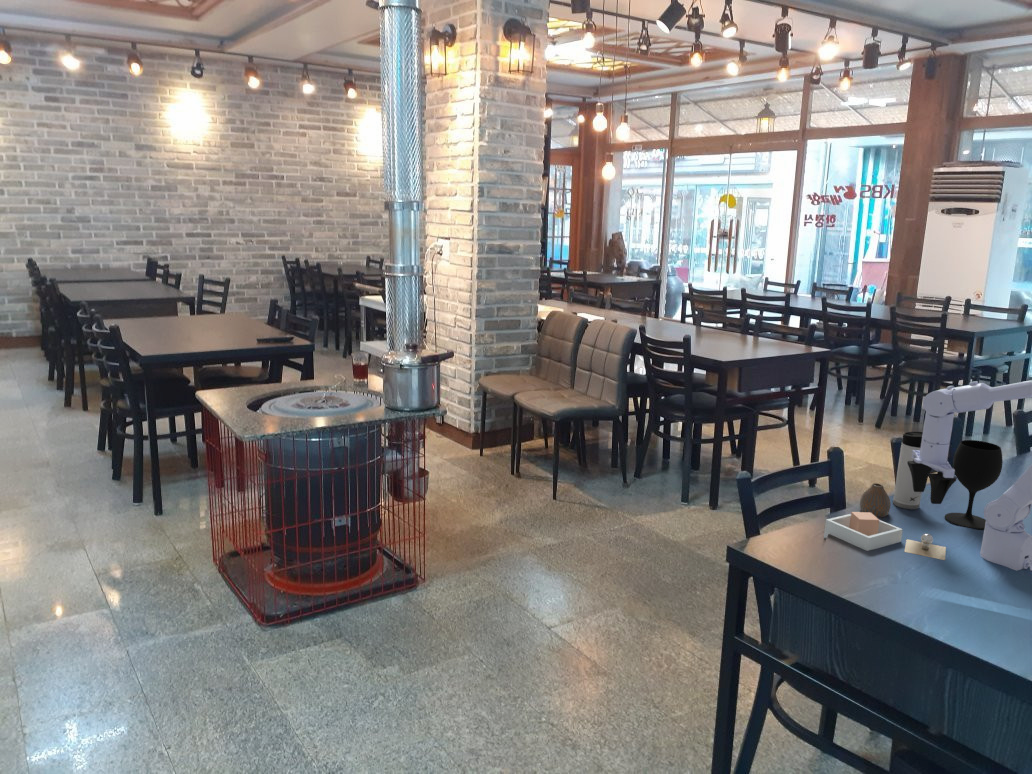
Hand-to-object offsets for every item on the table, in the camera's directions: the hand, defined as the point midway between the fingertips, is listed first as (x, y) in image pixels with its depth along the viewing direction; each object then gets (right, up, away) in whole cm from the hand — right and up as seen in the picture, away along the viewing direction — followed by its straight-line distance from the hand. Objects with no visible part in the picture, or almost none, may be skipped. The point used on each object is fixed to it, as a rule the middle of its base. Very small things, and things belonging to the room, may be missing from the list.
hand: (927, 497), depth 185 cm
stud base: (-4, -12, -7) cm, 14 cm away
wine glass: (+17, -8, +14) cm, 24 cm away
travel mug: (+7, -6, +24) cm, 26 cm away
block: (-16, -10, -1) cm, 18 cm away
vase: (-6, -7, +15) cm, 17 cm away
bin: (-16, -10, -1) cm, 19 cm away
